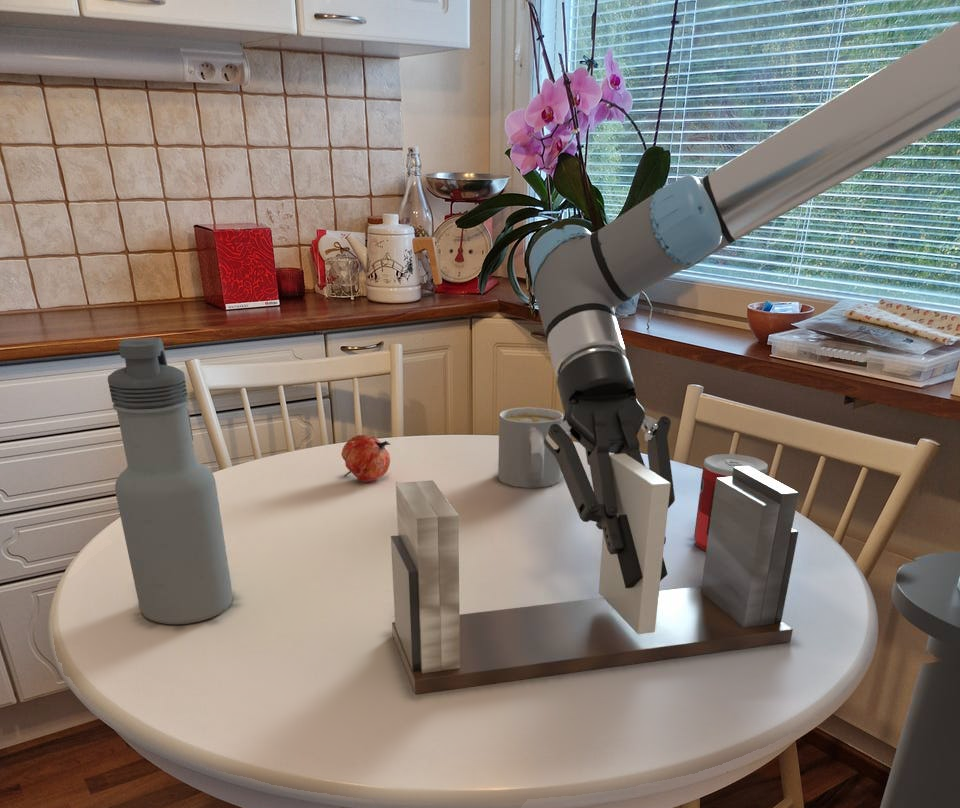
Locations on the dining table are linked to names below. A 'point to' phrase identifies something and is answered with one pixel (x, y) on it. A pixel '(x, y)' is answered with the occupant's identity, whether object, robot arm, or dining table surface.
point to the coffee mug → (527, 448)
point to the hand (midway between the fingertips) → (646, 580)
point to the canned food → (711, 470)
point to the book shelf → (593, 622)
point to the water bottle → (166, 493)
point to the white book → (637, 542)
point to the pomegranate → (366, 457)
